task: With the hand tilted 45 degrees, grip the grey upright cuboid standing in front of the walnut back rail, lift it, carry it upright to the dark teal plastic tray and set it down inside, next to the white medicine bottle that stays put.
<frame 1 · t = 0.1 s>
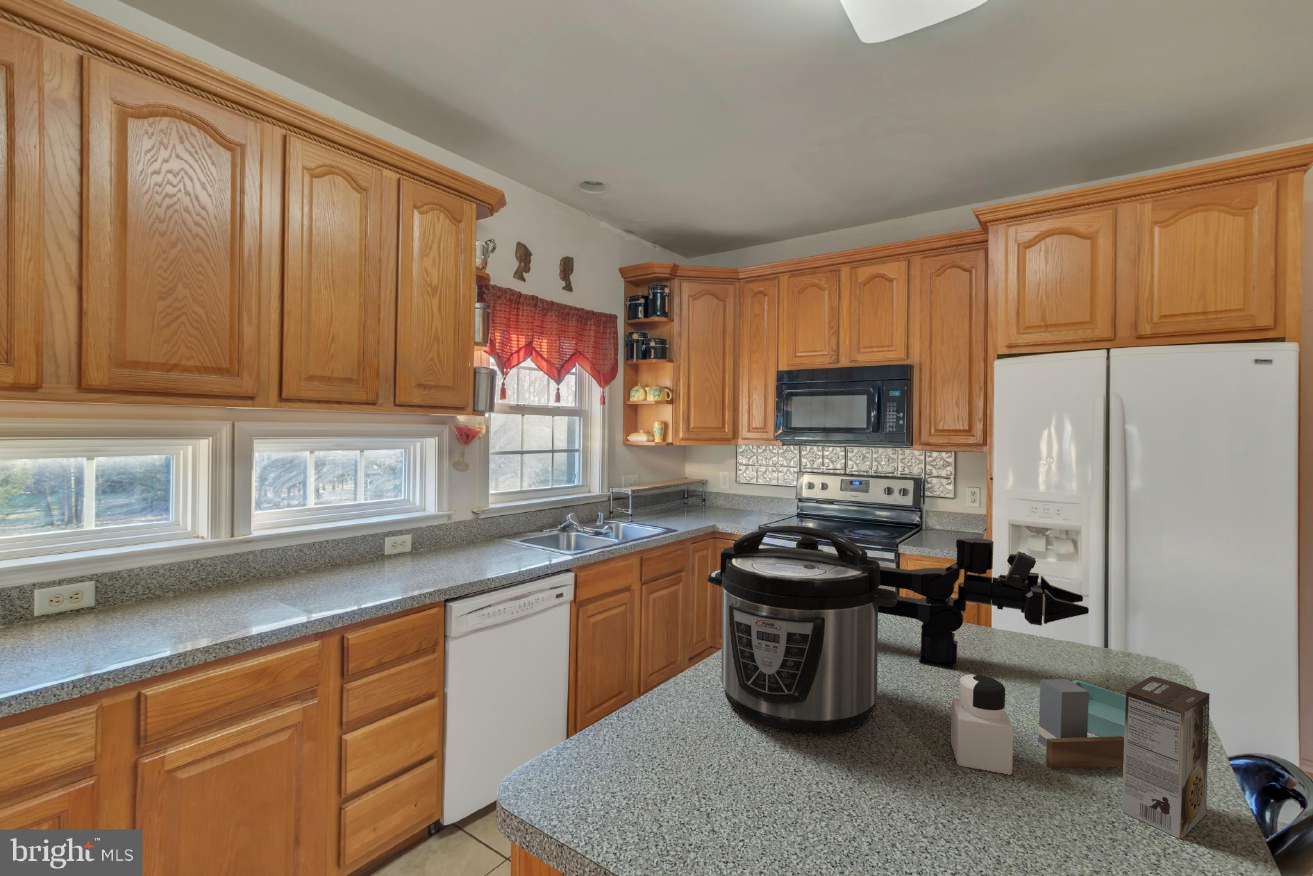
hand: (1085, 604, 114), 17 cm above the countertop, tool horizontal, fingers open, 9 cm apart
medicine bottle: (979, 759, 89), on the countertop
back rail: (1086, 765, 88), on the countertop
tray: (1103, 720, 102), on the countertop
pressure cooker: (794, 706, 106), on the countertop
coffee box: (1163, 815, 77), on the countertop
grey upright cuboid: (1062, 749, 92), on the countertop
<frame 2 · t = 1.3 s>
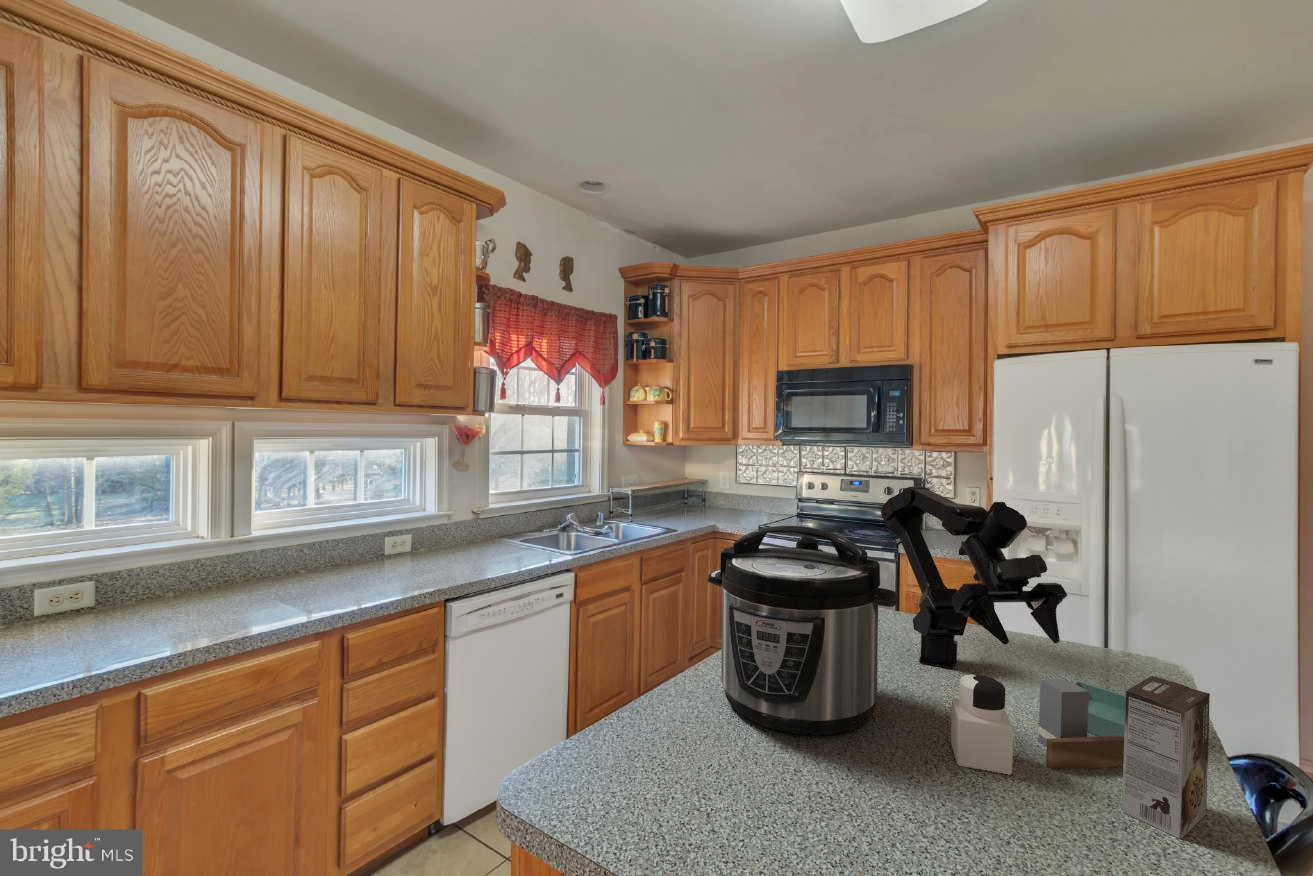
hand: (1032, 642, 100), 14 cm above the countertop, tool tilted 45°, fingers open, 9 cm apart
nothing on the countertop moved.
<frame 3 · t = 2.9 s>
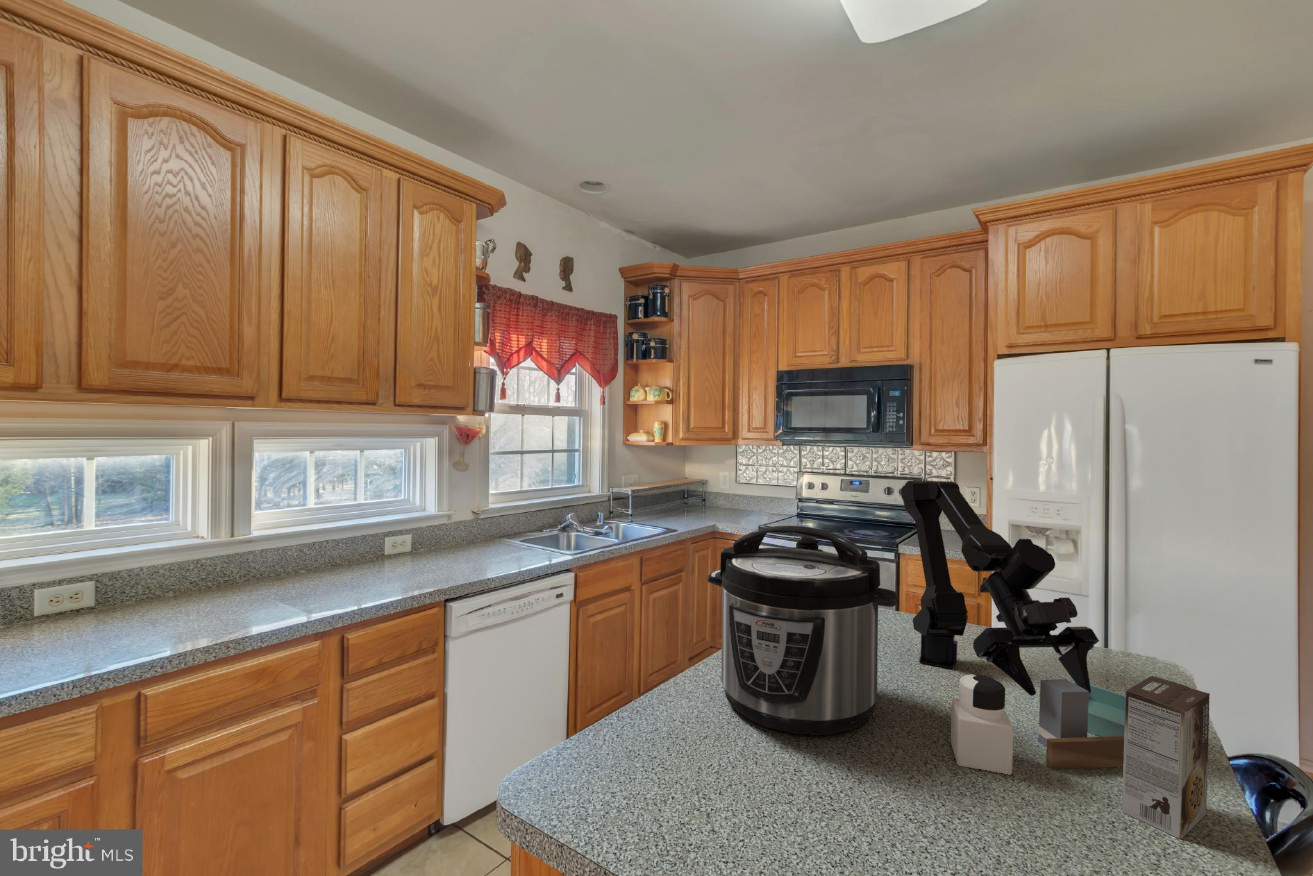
hand: (1061, 694, 93), 8 cm above the countertop, tool tilted 45°, fingers open, 9 cm apart
nothing on the countertop moved.
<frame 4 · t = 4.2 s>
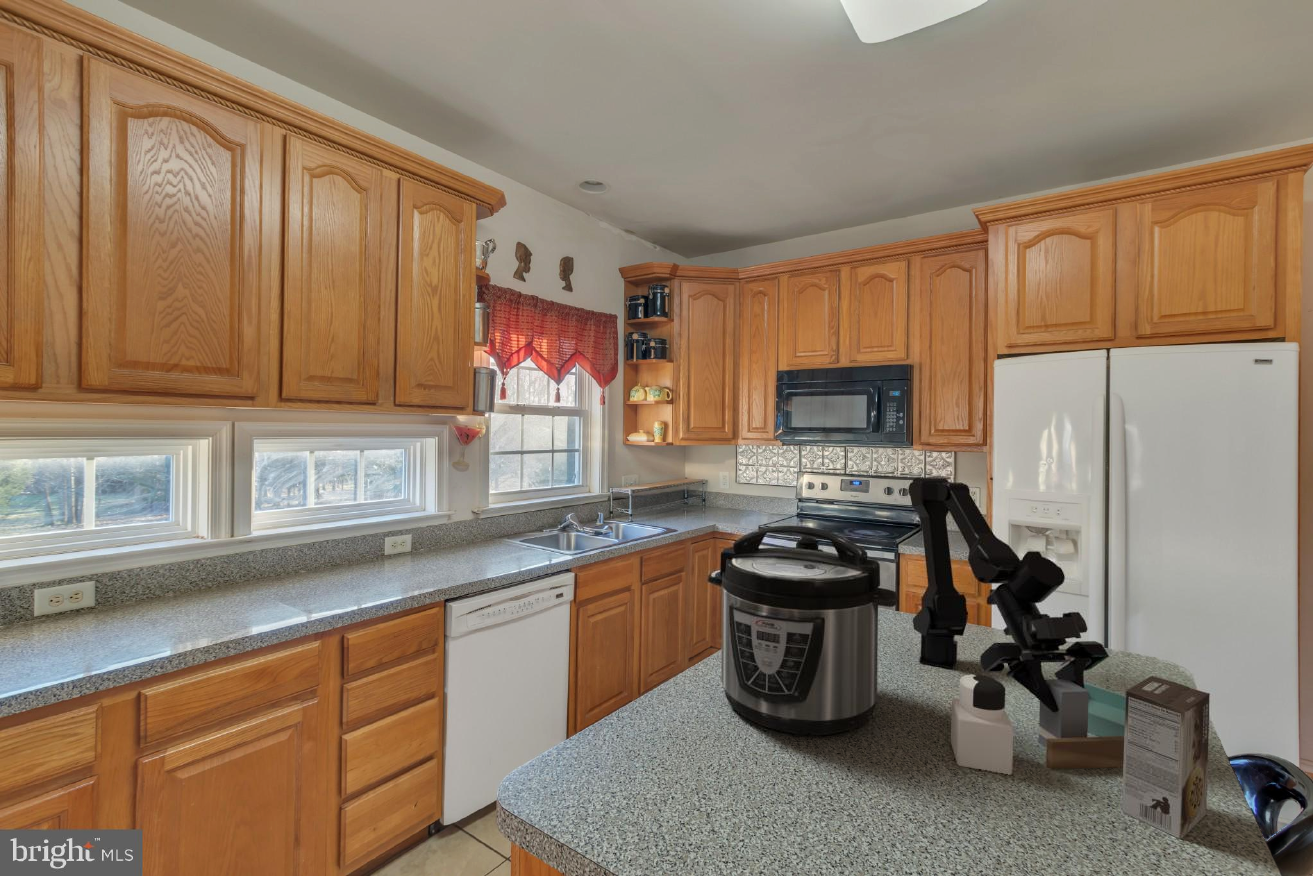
hand: (1070, 711, 91), 7 cm above the countertop, tool tilted 45°, fingers closed on grey upright cuboid, 4 cm apart
grey upright cuboid: (1062, 749, 92), on the countertop, touching gripper
everything else where it was.
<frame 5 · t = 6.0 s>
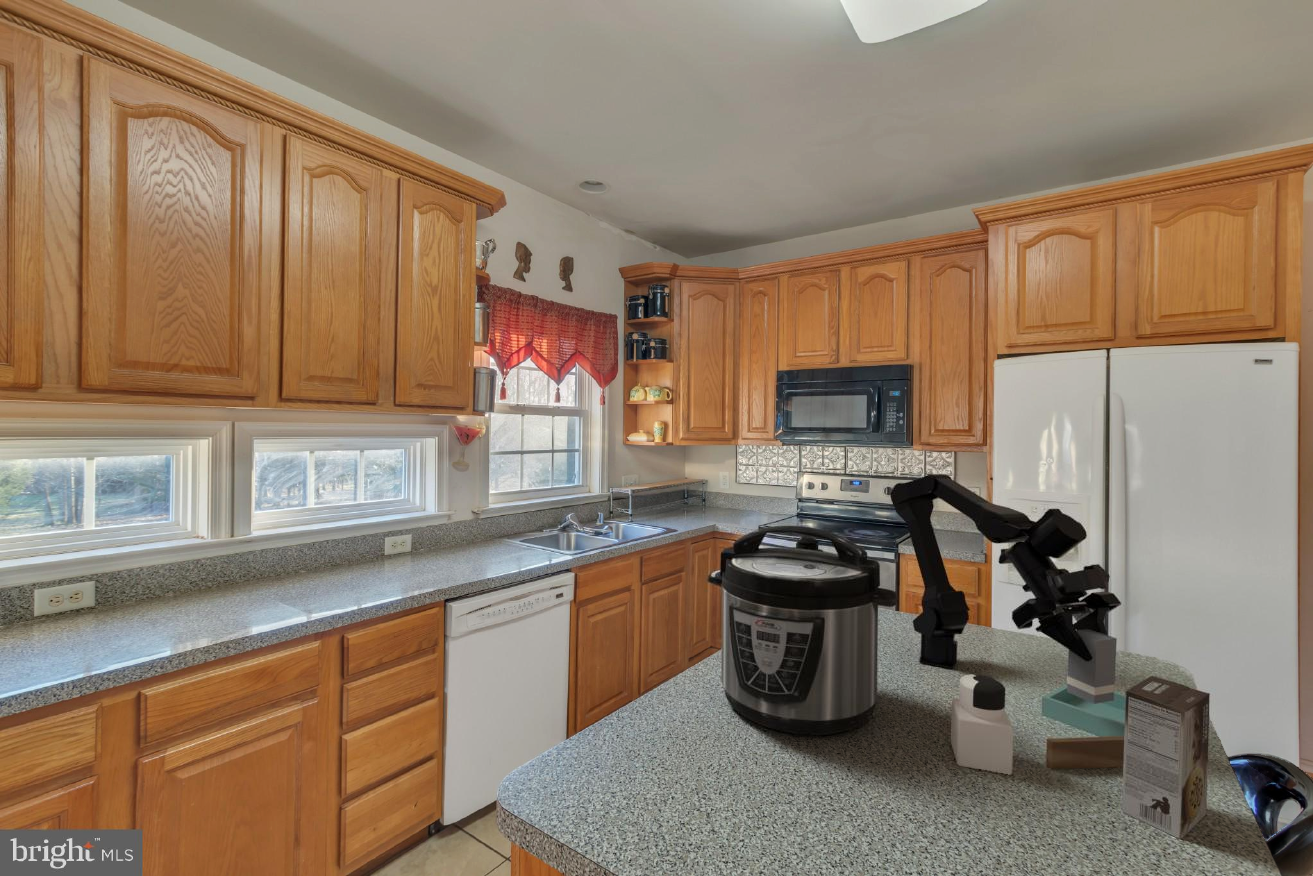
hand: (1100, 658, 95), 13 cm above the countertop, tool tilted 45°, fingers closed on grey upright cuboid, 4 cm apart
grey upright cuboid: (1090, 696, 96), point 7 cm above the countertop, touching gripper
everything else where it was.
when the fingers open (8 cm above the countertop, at t = 8.0 s): grey upright cuboid drops 1 cm, resting on tray.
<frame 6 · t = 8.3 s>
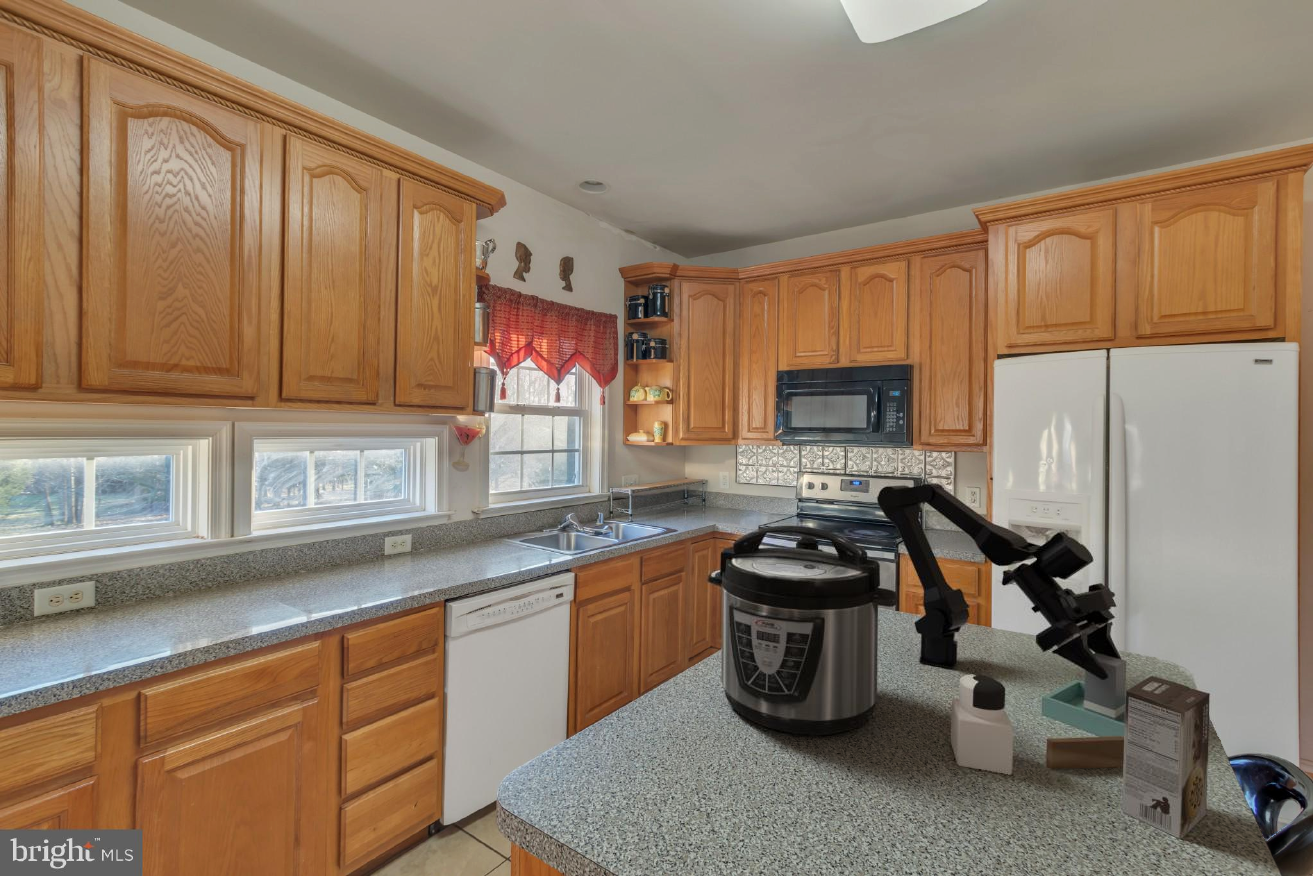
hand: (1114, 674, 101), 9 cm above the countertop, tool tilted 45°, fingers open, 7 cm apart
grey upright cuboid: (1103, 717, 102), point 1 cm above the countertop, touching tray
everything else where it was.
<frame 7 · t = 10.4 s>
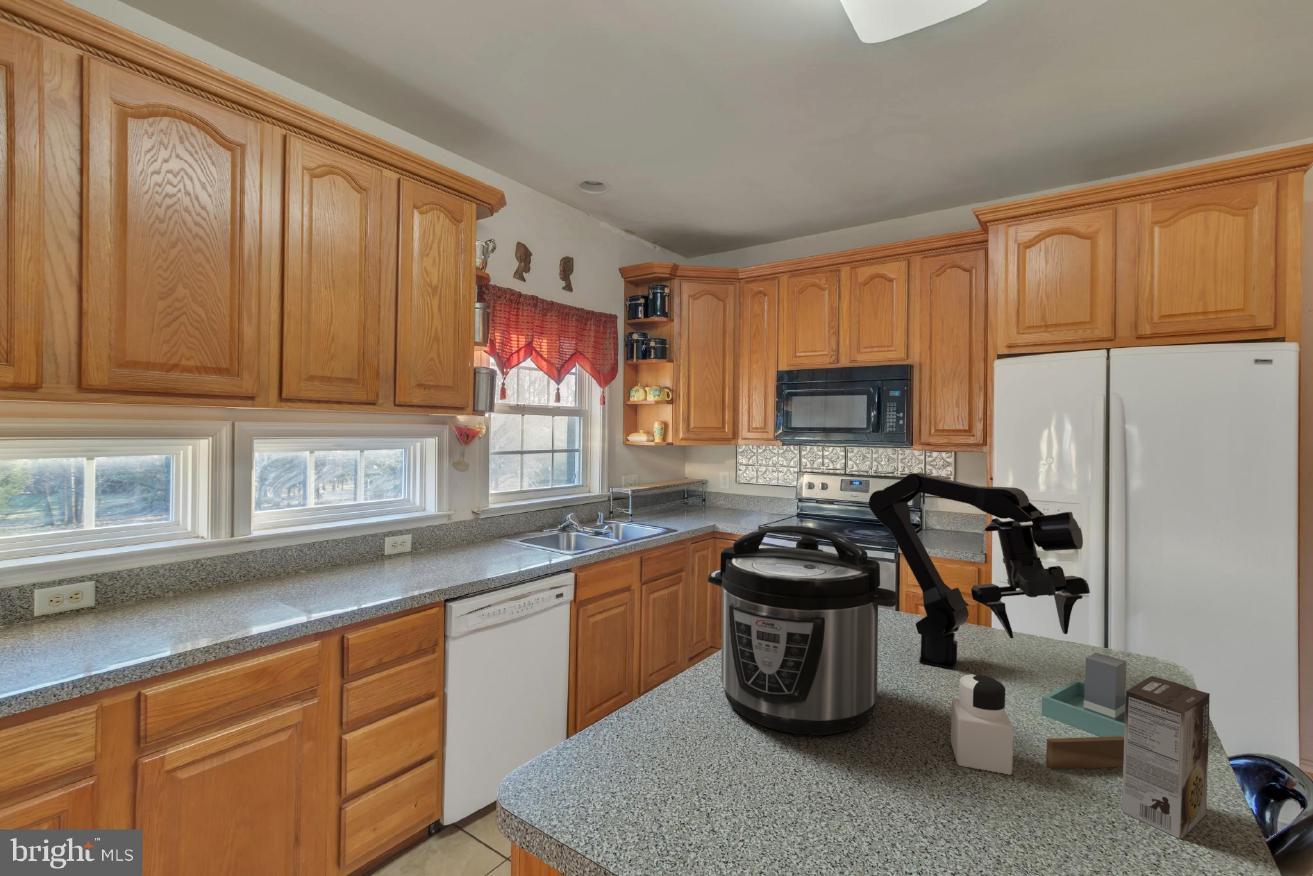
hand: (1038, 635, 112), 11 cm above the countertop, tool pointing down, fingers open, 9 cm apart
nothing on the countertop moved.
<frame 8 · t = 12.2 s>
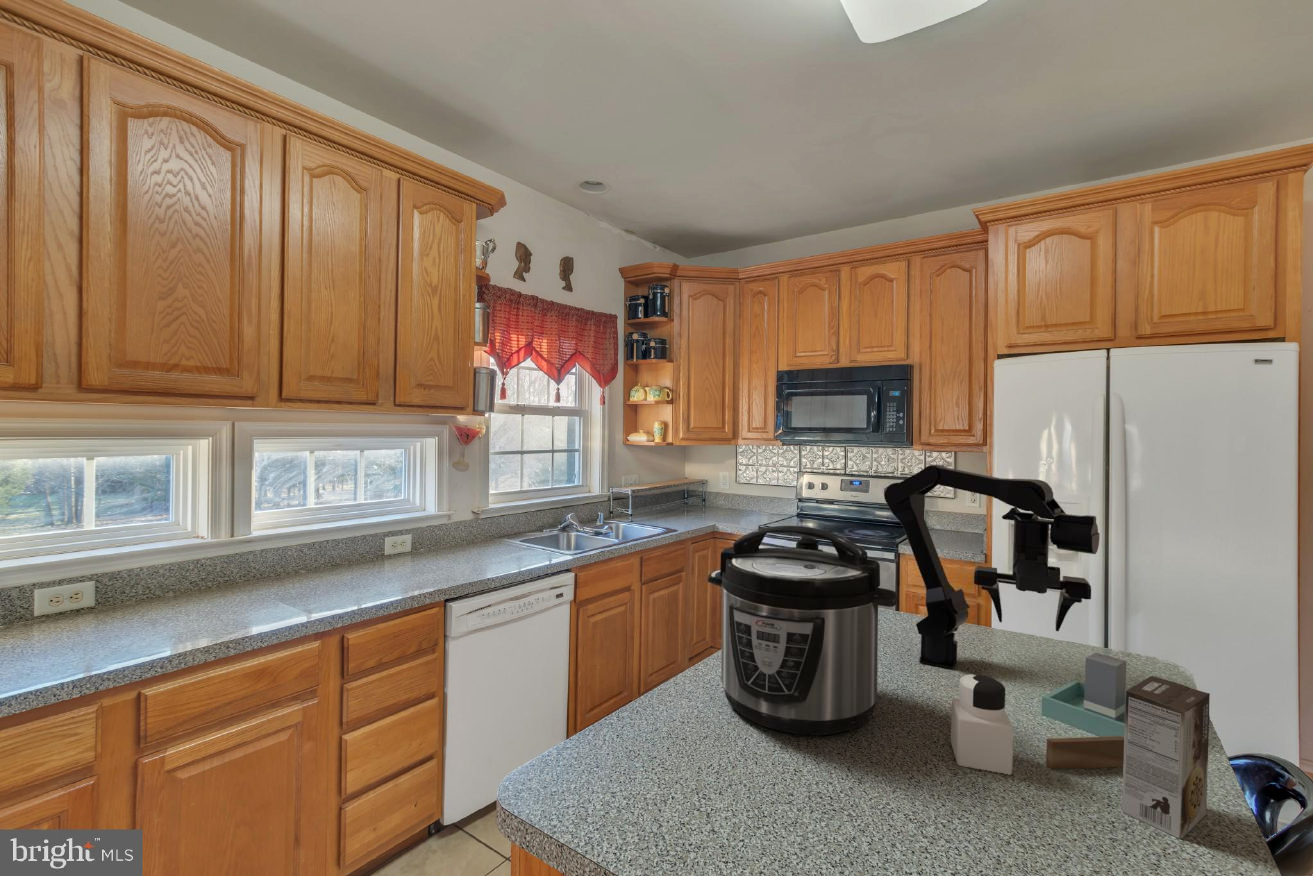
hand: (1028, 626, 114), 12 cm above the countertop, tool pointing down, fingers open, 9 cm apart
nothing on the countertop moved.
at the end: grey upright cuboid inside the target area on the tray (0.1 cm from its centre), point 0.6 cm above the tray's base; grey upright cuboid tilted 0°; the gripper is holding nothing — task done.
